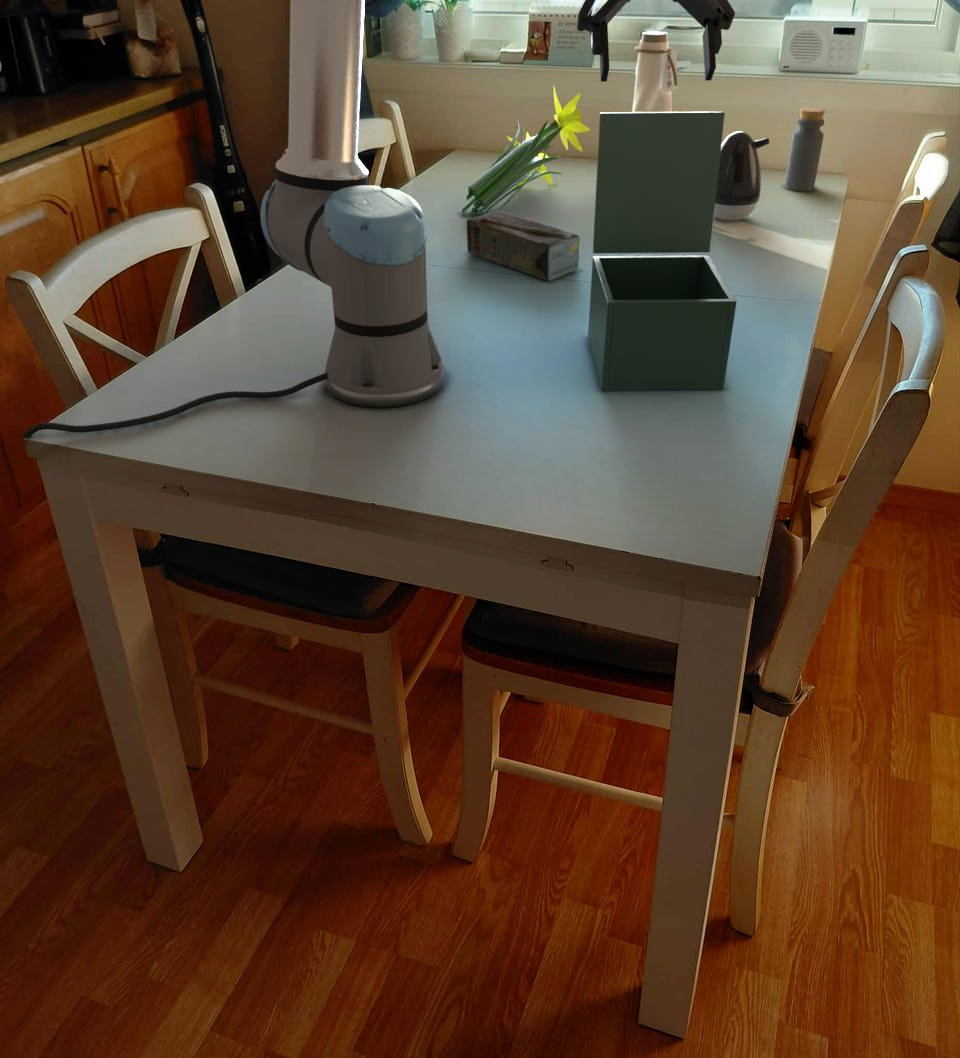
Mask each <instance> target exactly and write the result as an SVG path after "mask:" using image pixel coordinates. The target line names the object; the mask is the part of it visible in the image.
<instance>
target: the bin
mask: <svg viewBox="0 0 960 1058" xmlns="http://www.w3.org/2000/svg"><path fill="white" fill-rule="evenodd" d="M591 265H592V266H591V279H590V280H591V281H590V294H589V295H590V296H589V297H590V298H589V312H588V327H587V340H588V344H589V349H590V352H591V356H592V359H593V363H594V367H595V372H596V375H597V379H598V383H599V386H600V391H602V392H605V391H606V392H607V391H609V392H610V391H611V392H612V391H613V392H617V391H622V392H623V391H624V392H625V391H708V390H709V391H711V390H712V391H716V390H718V391H719V390H720V391H722V390H723V391H724V388H725V382H726V374H727V367H728V363H729V354H730V349H731V343H732V342H731V341H732V336H733V335H732V334H733V329H734V322H735V315H736V309H737V304H738V303H737V300H736V298H735V296H734V294H733V293H732V291H731V290H730V288H729V286H728V284H727V283H726V282H725V280H724V278H723V277H722V275H721V273H720V271H719V270H718V268H717V267H716V265H715V264H714V262H713V260H712V258H711V257H710V255H709V254H707V255H705V254H703V255H701V254H700V255H699V254H697V255H695V254H693V255H691V254H690V255H593V256H592V263H591Z"/></svg>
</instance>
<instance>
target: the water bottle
mask: <svg viewBox="0 0 960 1058" xmlns="http://www.w3.org/2000/svg"><path fill="white" fill-rule="evenodd" d="M668 36H669V33H668V32H667V31H658V30H649V31H642V33H641V39H640V41H639V45H637V46H635V47H634V51H635V52H637V60H636V66H635V81H634V82H635V83H634V92H633V100H632V110H631V112H673V101H672V100H673V99H672V98H673V97H672V92H673V91H676V90H677V89H678V49H677V48H675V49H673V48H672V47H671V46H669V39H668V38H669V37H668Z"/></svg>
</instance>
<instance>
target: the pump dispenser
mask: <svg viewBox="0 0 960 1058" xmlns="http://www.w3.org/2000/svg"><path fill="white" fill-rule="evenodd" d="M767 145H770V138H769V137H765V138H761V139H758V140H754V139H753V138H752V136H751V135H750V134H748V133H747V132H745V131H734V132H732V133H730V134H729V135H727V136H726V138H725V139H724V141H722V143H721V152H720V161H719V171H718V180H717V189H716V198H715V207H714V216H713V218H716V219H718V220H721V221H726V222H735V221H741V220H744V219H746V218H747V217H749V215H751V214H752V213H753V211H754V209H755V208H756V206H757V203H758V202H759V201H760V198H761V191H762V190H761V189H762V187H761V186H762V175H761V174H762V173H761V165H760V164H761V163H760V158H759V154H758V149H761V148H762V147H765V146H767Z"/></svg>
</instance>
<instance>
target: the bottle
mask: <svg viewBox="0 0 960 1058" xmlns="http://www.w3.org/2000/svg"><path fill="white" fill-rule="evenodd" d="M799 110H800V111H799V115H800V117H798V118H797V120H796V124H797V125H798V126H799V127H798V128H797V129H796V130H794V131H793V133H792V138H791V144H790V150H789V157H788V163H787V167H786V175H785V181H784V188H785V189H787V190H791V191H794V192H809V191H812V190H814V189H815V185H816V179H817V174H818V169H819V164H820V159H821V152H822V147H823V140H824V136H825V134H824V132H823V131H822V130H821V127H823V126H824V125H825V119H824V115H825V112H826V110H825V109H824V108H822V107H815V106H805V107H801V108H800V109H799Z"/></svg>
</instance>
